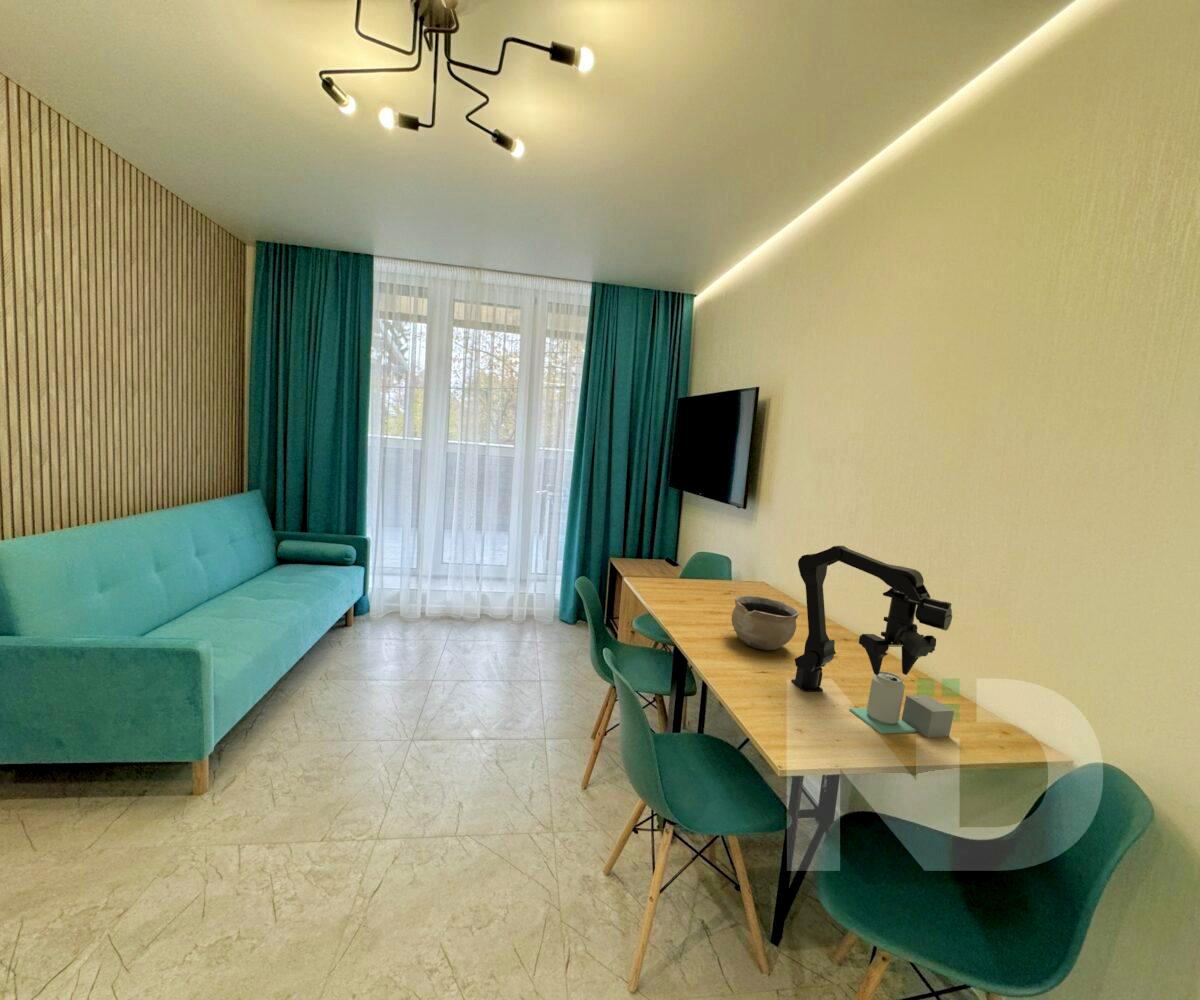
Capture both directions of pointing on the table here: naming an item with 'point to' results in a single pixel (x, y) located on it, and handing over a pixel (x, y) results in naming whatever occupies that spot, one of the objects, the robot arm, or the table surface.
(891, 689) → the can
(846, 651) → the table surface
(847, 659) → the table surface
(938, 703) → the unit
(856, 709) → the mat
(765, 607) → the ceramic bowl
